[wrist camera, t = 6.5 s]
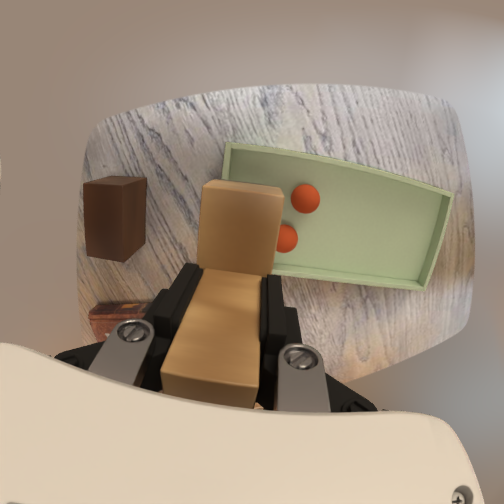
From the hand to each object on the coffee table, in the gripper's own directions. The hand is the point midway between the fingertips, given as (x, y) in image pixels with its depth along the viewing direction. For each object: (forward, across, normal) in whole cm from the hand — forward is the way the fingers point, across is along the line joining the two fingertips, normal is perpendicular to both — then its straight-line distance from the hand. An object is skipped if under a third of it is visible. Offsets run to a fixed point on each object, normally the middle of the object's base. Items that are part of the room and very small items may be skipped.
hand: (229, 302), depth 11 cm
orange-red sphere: (+17, -4, +2) cm, 18 cm away
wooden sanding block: (+4, 0, 0) cm, 4 cm away
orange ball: (+17, -5, -2) cm, 18 cm away
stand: (+19, +15, +2) cm, 24 cm away
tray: (+20, -10, 0) cm, 22 cm away
